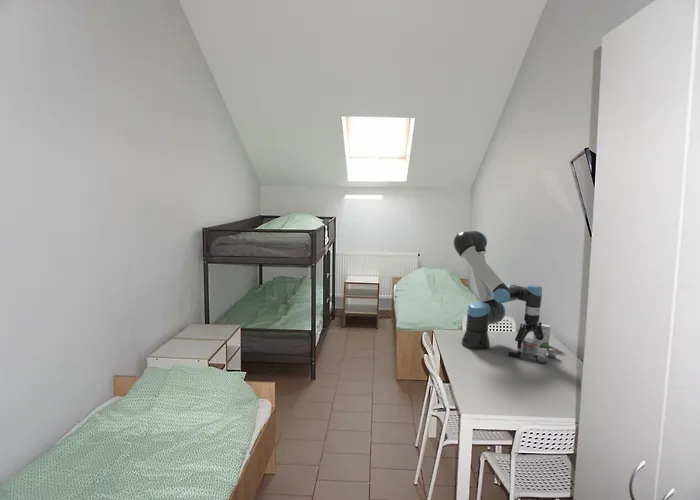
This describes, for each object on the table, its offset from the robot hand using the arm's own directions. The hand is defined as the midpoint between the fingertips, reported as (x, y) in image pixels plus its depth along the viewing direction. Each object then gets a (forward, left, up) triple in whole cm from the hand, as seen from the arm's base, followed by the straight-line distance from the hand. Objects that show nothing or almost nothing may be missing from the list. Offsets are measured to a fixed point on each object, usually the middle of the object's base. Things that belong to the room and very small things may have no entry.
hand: (528, 352), depth 279 cm
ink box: (+3, +20, 0) cm, 20 cm away
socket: (0, 0, 0) cm, 0 cm away
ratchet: (+2, -11, 0) cm, 11 cm away
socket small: (+12, +1, 0) cm, 12 cm away
